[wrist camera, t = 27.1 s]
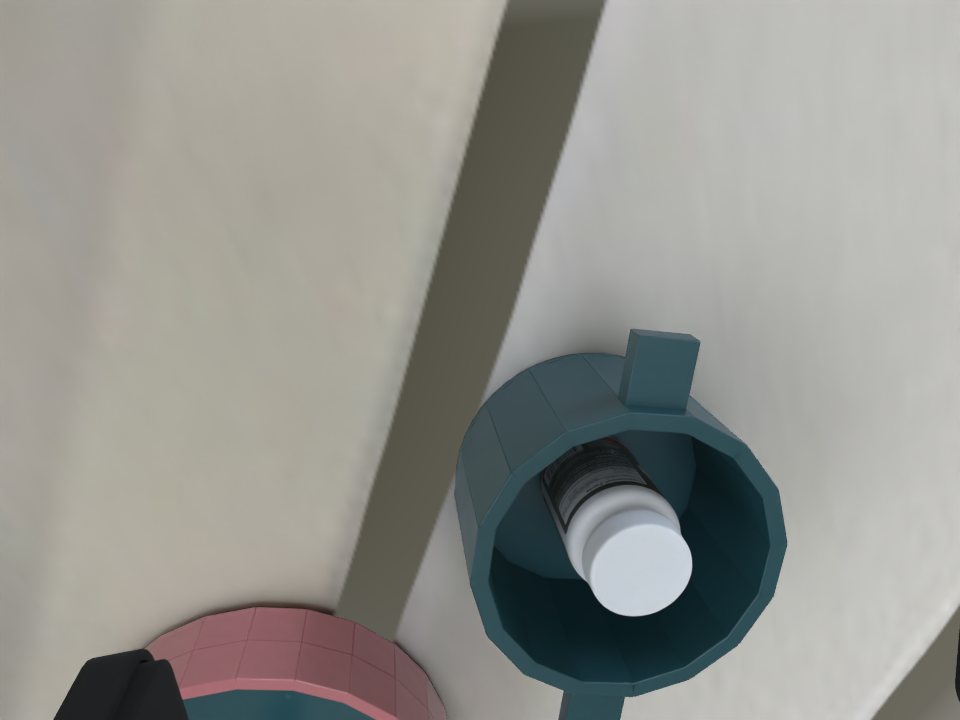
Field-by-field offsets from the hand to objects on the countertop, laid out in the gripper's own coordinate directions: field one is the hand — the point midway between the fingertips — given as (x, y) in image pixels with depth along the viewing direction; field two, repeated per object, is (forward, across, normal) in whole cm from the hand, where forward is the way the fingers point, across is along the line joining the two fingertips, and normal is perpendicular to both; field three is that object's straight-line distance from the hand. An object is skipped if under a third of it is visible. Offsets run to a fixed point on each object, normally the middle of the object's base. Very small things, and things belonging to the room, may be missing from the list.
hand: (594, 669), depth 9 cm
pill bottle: (+25, -6, +11) cm, 28 cm away
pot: (+25, -6, +11) cm, 28 cm away
